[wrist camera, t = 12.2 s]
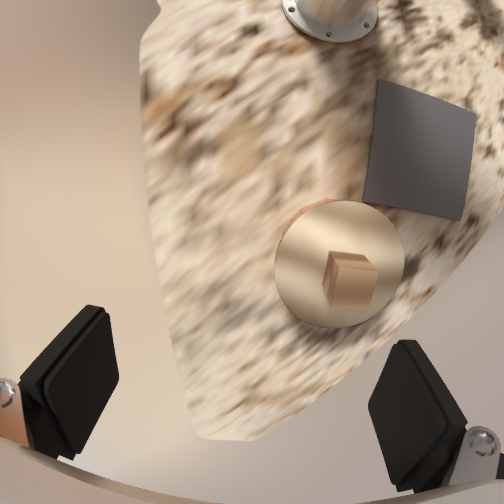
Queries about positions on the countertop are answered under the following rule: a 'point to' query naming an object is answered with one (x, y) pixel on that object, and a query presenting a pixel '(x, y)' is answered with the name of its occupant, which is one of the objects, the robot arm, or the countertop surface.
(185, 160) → the countertop surface
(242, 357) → the countertop surface
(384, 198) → the mat
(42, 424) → the robot arm
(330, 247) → the lid
